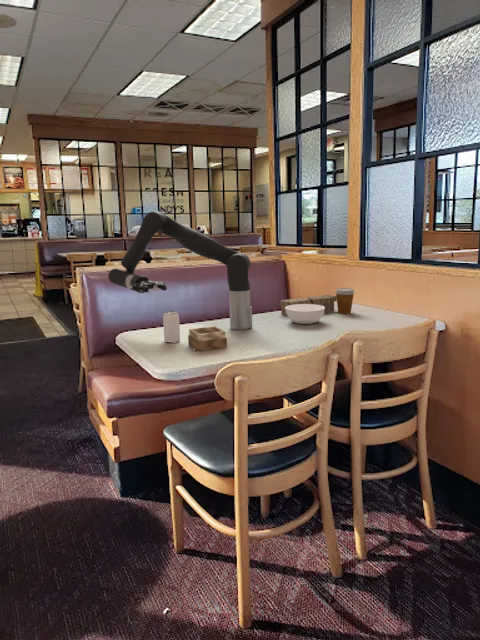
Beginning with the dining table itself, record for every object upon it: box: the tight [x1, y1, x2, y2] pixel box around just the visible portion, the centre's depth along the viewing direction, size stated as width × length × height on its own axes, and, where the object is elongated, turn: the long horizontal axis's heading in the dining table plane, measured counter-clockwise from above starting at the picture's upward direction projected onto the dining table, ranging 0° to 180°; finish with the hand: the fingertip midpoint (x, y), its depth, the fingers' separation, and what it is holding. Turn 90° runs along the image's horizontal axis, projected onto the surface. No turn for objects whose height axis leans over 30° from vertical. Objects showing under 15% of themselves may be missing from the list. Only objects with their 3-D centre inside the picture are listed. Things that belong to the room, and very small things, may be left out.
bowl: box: [285, 304, 325, 325], centre depth 227 cm, size 18×18×7 cm
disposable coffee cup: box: [335, 287, 355, 315], centre depth 246 cm, size 10×10×12 cm
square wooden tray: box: [188, 325, 227, 341], centre depth 188 cm, size 11×11×2 cm
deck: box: [187, 335, 228, 352], centre depth 189 cm, size 12×11×4 cm
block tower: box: [280, 294, 337, 317], centre depth 250 cm, size 8×8×29 cm
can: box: [162, 310, 181, 343], centre depth 198 cm, size 6×6×12 cm
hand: (156, 288), depth 202 cm, fingers open, 8 cm apart
